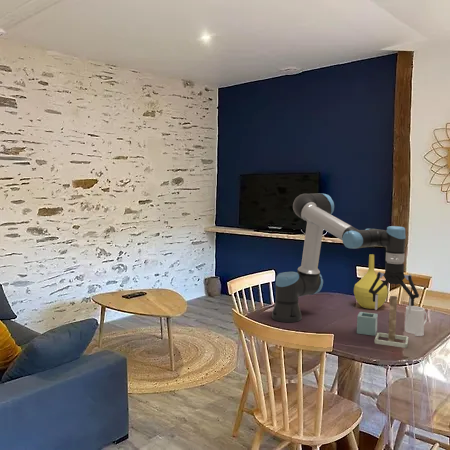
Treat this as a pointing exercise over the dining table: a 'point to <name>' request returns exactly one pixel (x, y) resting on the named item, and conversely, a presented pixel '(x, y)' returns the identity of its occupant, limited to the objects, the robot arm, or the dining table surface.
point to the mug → (415, 320)
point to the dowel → (392, 318)
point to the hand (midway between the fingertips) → (392, 311)
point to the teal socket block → (367, 323)
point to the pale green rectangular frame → (391, 341)
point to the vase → (364, 286)
